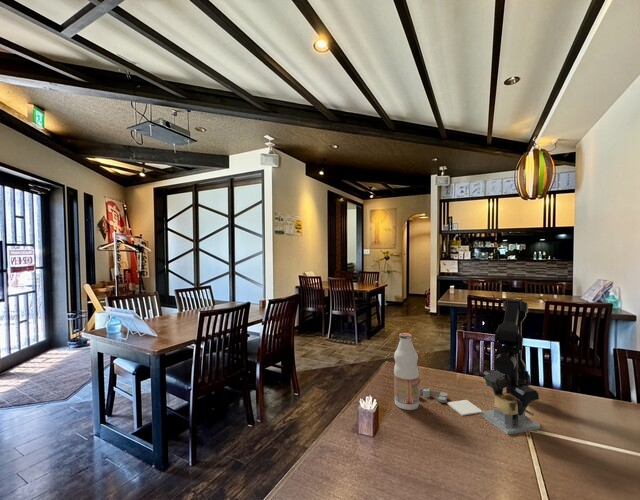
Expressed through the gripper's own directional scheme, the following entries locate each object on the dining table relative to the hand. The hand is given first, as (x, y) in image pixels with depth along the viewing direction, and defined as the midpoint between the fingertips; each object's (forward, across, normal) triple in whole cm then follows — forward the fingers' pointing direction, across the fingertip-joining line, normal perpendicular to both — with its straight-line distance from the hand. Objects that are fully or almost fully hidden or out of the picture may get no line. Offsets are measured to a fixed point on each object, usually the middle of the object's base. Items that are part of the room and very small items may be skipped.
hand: (509, 408), depth 109 cm
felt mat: (+5, -12, -9) cm, 16 cm away
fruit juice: (+5, -20, -29) cm, 36 cm away
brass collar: (0, 0, 0) cm, 0 cm away
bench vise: (+5, 0, 0) cm, 5 cm away
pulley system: (+6, -30, -19) cm, 36 cm away
